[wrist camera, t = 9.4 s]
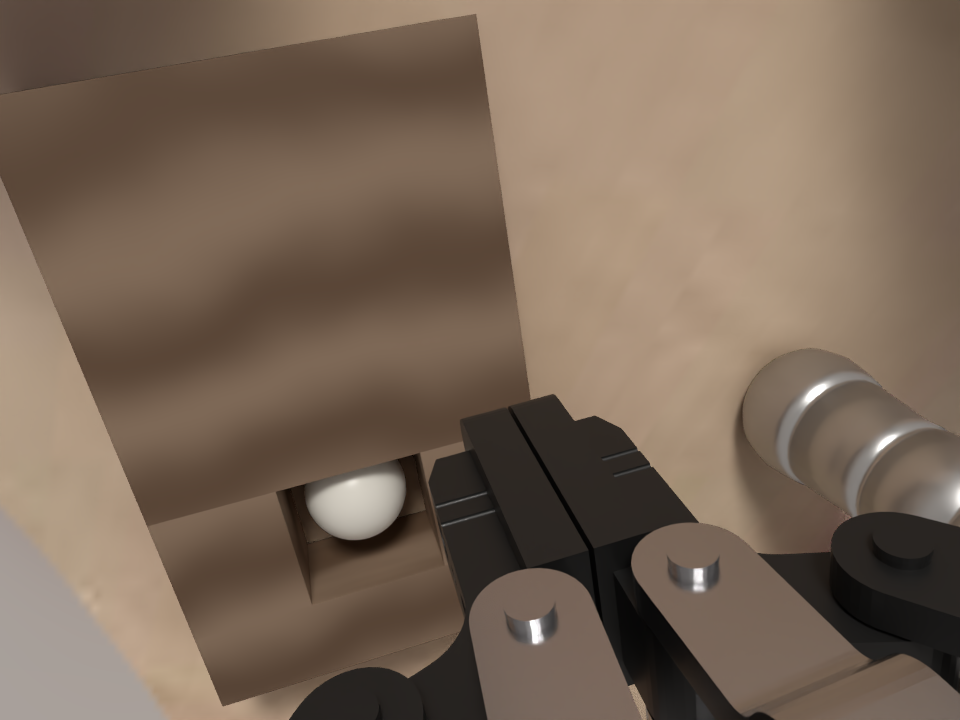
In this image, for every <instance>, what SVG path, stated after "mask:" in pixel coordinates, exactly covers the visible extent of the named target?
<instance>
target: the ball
mask: <svg viewBox="0 0 960 720" xmlns="http://www.w3.org/2000/svg"><path fill="white" fill-rule="evenodd" d="M304 491H305V501H306V505H307V508H308V511H309V513H310V515H311V516H312V518H313V519H314V521H315V522H316V523H317V524H318V525H319V526H320V527H321V528H322V529H323V530H324V531H326V532H327V533H329V534H331V535H333V536H335V537H338V538H341V539H346V540H363V539H367V538H370V537H373V536H375V535H377V534H379V533H381V532H383V531H384V530H385V529H387V528H388V527H389V526H390V525H391V524H392V523H393V522H394V521H395V519H396V518H397V516H398V515H399V513H400V511H401V509H402V507H403V504H404V501H405V496H406V480H405V475H404V472H403V469H402V467H401V465H400V463H399V461H398V460H397V459H395V460H391V461H388V462H384V463H380V464H377V465H373V466H369V467H365V468H362V469H358V470H354V471H351V472H347V473H343V474H340V475H336V476H332V477H328V478H325V479H321V480H317V481H314V482H310V483H306V484H305V489H304Z"/></svg>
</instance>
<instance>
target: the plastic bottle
mask: <svg viewBox="0 0 960 720" xmlns="http://www.w3.org/2000/svg"><path fill="white" fill-rule="evenodd" d="M743 428H744V432H745V436H746V437H747V439H748V441H749V443H750V444H751V446H752V447H753V448H754V450H755V451H756V452H757V454H758V455H759V456H760V458H761V459H762V460H763V461H764V462H765V463H766V464H767V465H769V466H771V467H772V468H774V469H776V470H777V471H779V472H780V473H782V474H784V475H785V476H787V477H789V478H790V479H792V480H794V481H796V482H799V483H801V484H803V485H806V486H808V487H809V488H811V489H812V490H813V491H815V492H816V493H818V494H819V495H821V496H822V497H824V498H825V499H827V500H828V501H830V502H831V503H833V504H834V505H836V506H837V507H839V508H840V509H841V510H843V511H844V512H846V513H847V514H849V515H850V516H851V517H852V518H853V517H856V516H858V515H862V514H867V513H873V512H898V513H906V514H911V515H915V516H919V517H923V518H927V519H931V520H935V521H939V522H943V523H947V524H951V525H955V526H958V527H960V436H958V435H956V434H954V433H951V432H949V431H947V430H945V429H944V428H942V427H940V426H938V425H936V424H934V423H932V422H930V421H928V420H926V419H925V418H923V417H922V416H921V415H919V414H918V413H916V412H915V411H914V410H912V409H911V408H909V407H908V406H907V405H905V404H904V403H902V402H901V401H900V400H898V399H897V398H895V397H894V396H893V395H891V394H890V393H888V392H887V391H886V390H884V389H883V388H882V386H881V385H880V384H879V383H878V382H877V381H876V380H875V379H874V378H873V377H872V376H871V375H869V374H868V373H867V372H866V371H864V370H863V369H862V368H861V367H859V366H858V365H857V364H855V363H854V362H853V361H851V360H850V359H849V358H846V357H844V356H841V355H838V354H835V353H831V352H828V351H825V350H821V349H814V348H808V349H800V350H797V351H793V352H790V353H787V354H784V355H782V356H780V357H778V358H776V359H774V360H773V361H771V362H770V363H768V364H767V365H766V366H765V367H764V368H763V369H762V370H761V371H760V372H759V373H758V374H757V375H756V377H755V378H754V379H753V381H752V382H751V384H750V386H749V388H748V390H747V393H746V395H745V398H744V403H743Z"/></svg>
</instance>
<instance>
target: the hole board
mask: <svg viewBox="0 0 960 720" xmlns="http://www.w3.org/2000/svg"><path fill="white" fill-rule="evenodd" d="M0 176H1V178H2V181H3V183H4V186H5V188H6V190H7V193H8V195H9V198H10V200H11V202H12V205H13V207H14V209H15V212H16V214H17V217H18V219H19V221H20V224H21V226H22V229H23V231H24V233H25V236H26V238H27V240H28V243H29V245H30V248H31V250H32V252H33V255H34V257H35V260H36V262H37V264H38V267H39V269H40V272H41V274H42V276H43V279H44V281H45V283H46V286H47V288H48V291H49V293H50V295H51V298H52V300H53V303H54V305H55V307H56V310H57V312H58V314H59V317H60V319H61V322H62V324H63V326H64V329H65V331H66V334H67V336H68V338H69V341H70V343H71V346H72V348H73V350H74V353H75V355H76V357H77V360H78V362H79V365H80V367H81V369H82V372H83V374H84V377H85V379H86V381H87V384H88V386H89V388H90V391H91V393H92V396H93V398H94V400H95V403H96V405H97V408H98V410H99V412H100V415H101V417H102V420H103V422H104V424H105V427H106V429H107V431H108V434H109V436H110V439H111V441H112V443H113V446H114V448H115V451H116V453H117V455H118V458H119V460H120V463H121V465H122V467H123V470H124V472H125V474H126V477H127V479H128V482H129V484H130V486H131V489H132V491H133V494H134V496H135V498H136V501H137V503H138V505H139V508H140V510H141V513H142V515H143V517H144V520H145V522H146V525H147V527H148V529H149V532H150V534H151V537H152V539H153V541H154V544H155V546H156V548H157V551H158V553H159V556H160V558H161V560H162V563H163V565H164V568H165V570H166V572H167V575H168V577H169V579H170V582H171V584H172V587H173V589H174V591H175V594H176V596H177V599H178V601H179V603H180V606H181V608H182V611H183V613H184V615H185V618H186V620H187V622H188V625H189V627H190V630H191V632H192V634H193V637H194V639H195V642H196V644H197V646H198V649H199V651H200V653H201V656H202V658H203V661H204V663H205V665H206V668H207V670H208V673H209V675H210V677H211V680H212V682H213V685H214V687H215V689H216V692H217V694H218V696H219V699H220V701H221V704H222V706H226V705H229V704H232V703H235V702H239V701H242V700H245V699H248V698H251V697H255V696H258V695H261V694H264V693H267V692H270V691H274V690H277V689H280V688H283V687H286V686H289V685H293V684H296V683H299V682H302V681H305V680H309V679H312V678H315V677H318V676H321V675H324V674H328V673H331V672H334V671H337V670H340V669H343V668H347V667H350V666H353V665H356V664H359V663H363V662H366V661H369V660H372V659H375V658H378V657H382V656H385V655H388V654H391V653H394V652H397V651H401V650H404V649H407V648H410V647H413V646H417V645H420V644H423V643H426V642H429V641H432V640H436V639H439V638H442V637H445V636H448V635H451V634H455V633H458V632H460V631H461V628H462V626H463V624H464V616H463V613H462V609H461V606H460V603H459V599H458V596H457V592H456V589H455V585H454V582H453V579H452V576H451V572H450V569H449V566H448V562H447V559H446V554H445V550H444V546H443V542H442V538H441V534H440V530H439V525H438V521H437V517H436V513H435V509H434V505H433V500H432V496H431V492H430V488H429V484H428V481H429V478H430V475H431V472H432V469H433V466H434V463H435V460H436V459H439V458H443V457H447V456H450V455H454V454H458V453H461V452H465V448H464V443H463V438H462V433H461V427H460V419H463V418H467V417H470V416H474V415H478V414H481V413H485V412H489V411H493V410H496V409H500V408H504V407H506V408H507V409H508V406H511V405H514V404H518V403H522V402H526V401H529V400H530V392H529V385H528V378H527V371H526V364H525V357H524V350H523V343H522V336H521V329H520V322H519V315H518V308H517V300H516V293H515V286H514V279H513V272H512V265H511V258H510V251H509V244H508V237H507V230H506V223H505V215H504V208H503V201H502V194H501V187H500V180H499V173H498V166H497V159H496V152H495V145H494V138H493V131H492V123H491V116H490V109H489V102H488V95H487V88H486V81H485V74H484V67H483V60H482V53H481V46H480V38H479V31H478V24H477V17H476V14H473V15H467V16H461V17H455V18H449V19H443V20H437V21H431V22H425V23H419V24H413V25H407V26H401V27H395V28H390V29H384V30H378V31H372V32H366V33H360V34H354V35H348V36H342V37H336V38H331V39H325V40H319V41H313V42H307V43H301V44H295V45H289V46H283V47H277V48H272V49H266V50H260V51H254V52H248V53H242V54H236V55H230V56H224V57H218V58H213V59H207V60H201V61H195V62H189V63H183V64H177V65H171V66H165V67H159V68H154V69H148V70H142V71H136V72H130V73H124V74H118V75H112V76H106V77H100V78H94V79H89V80H83V81H77V82H71V83H65V84H59V85H53V86H47V87H41V88H35V89H30V90H24V91H18V92H12V93H6V94H0ZM410 455H414V459H415V463H416V468H417V472H418V477H419V481H420V486H421V490H422V495H423V499H424V504H425V508H426V510H425V511H422V512H418V513H415V514H411V515H408V516H404V517H401V518H397V519H395V521H394V522H393V523H392V524H391V525H390V526H389V527H388V528H387V529H385V530H384V531H383V532H381V533H379V534H377V535H375V536H373V537H370V538H367V539H363V540H346V539H341V538H338V537H335V536H334V537H330V538H327V539H323V540H320V541H316V542H313V543H309V544H307V542H306V538H305V535H304V532H303V529H302V526H301V522H300V519H299V516H298V513H297V510H296V506H295V503H294V500H293V497H292V493H291V490H290V488H291V487H295V486H299V485H303V484H306V483H310V482H314V481H317V480H321V479H325V478H328V477H332V476H336V475H340V474H343V473H347V472H351V471H354V470H358V469H362V468H365V467H369V466H373V465H377V464H380V463H384V462H388V461H391V460H395V459H399V458H403V457H406V456H410Z"/></svg>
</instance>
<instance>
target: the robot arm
mask: <svg viewBox="0 0 960 720" xmlns="http://www.w3.org/2000/svg"><path fill="white" fill-rule="evenodd" d="M460 427H461V433H462V438H463V443H464V448H465V452H461V453H458V454H454V455H450V456H447V457H443V458H439V459H436V460H435V463H434V466H433V469H432V472H431V475H430V478H429V481H428V484H429V488H430V492H431V496H432V500H433V505H434V509H435V513H436V517H437V521H438V525H439V530H440V534H441V538H442V542H443V546H444V550H445V554H446V559H447V562H448V566H449V569H450V572H451V576H452V579H453V582H454V585H455V589H456V592H457V596H458V599H459V603H460V606H461V609H462V613H463V616H464V624H463V626H462V628H461V631H460V633H459V635H458V636H457V638H456V640H455V641H454V643H453V644H452V645H451V646H450V648H449V649H448V650H447V651H446V652H445V653H444V654H443V655H442V656H441V657H439V658H438V659H437V660H436V661H434V662H433V663H431V664H430V665H429V666H427V667H426V668H424V669H422V670H421V671H419V672H418V673H416V674H415V675H413V676H411V677H410V678H406V677H405V676H403V675H402V674H400V673H398V672H395V671H393V670H390V669H385V668H379V667H367V668H359V669H355V670H351V671H347V672H344V673H342V674H340V675H337V676H335V677H333V678H331V679H330V680H328V681H326V682H324V683H323V684H322V685H320V686H319V687H317V688H316V689H315V690H314V691H313V692H312V693H310V694H309V695H308V696H307V697H306V698H305V699H304V701H303V702H302V703H301V704H300V705H299V707H298V708H297V709H296V711H295V712H294V713H293V715H292V716H291V718H290V719H289V720H642V718H641V716H640V714H639V711H638V709H637V706H636V704H635V702H634V699H633V697H632V694H631V692H630V689H629V687H628V686H629V685H633V684H635V686H636V688H637V690H638V691H639V693H640V695H641V697H642V699H643V701H644V703H645V706H646V716H647V720H960V527H958V526H955V525H951V524H947V523H943V522H939V521H935V520H931V519H927V518H923V517H919V516H915V515H911V514H906V513H898V512H873V513H867V514H862V515H858V516H856V517H853V518H851V519H849V520H847V521H845V522H844V523H842V524H841V525H840V526H839V527H838V528H837V530H836V531H835V532H834V534H833V537H832V544H831V552H823V553H802V554H761V553H756V552H755V551H754V550H753V549H752V548H751V547H750V546H749V545H748V544H747V543H746V542H745V541H744V540H742V539H741V538H740V537H739V536H737V535H735V534H734V533H732V532H730V531H728V530H725V529H723V528H720V527H717V526H713V525H709V524H703V523H699V522H698V521H697V520H696V518H695V517H694V516H693V515H692V513H691V512H690V511H689V510H688V509H687V507H686V506H685V505H684V504H683V503H682V501H681V500H680V499H679V498H678V497H677V495H676V494H675V493H674V492H673V491H672V489H671V488H670V487H669V486H668V484H667V483H666V482H665V481H664V480H663V478H662V477H661V476H660V475H659V474H658V472H657V471H656V470H655V469H654V468H653V467H651V466H650V463H649V461H648V460H647V459H646V458H645V457H644V455H643V454H642V453H641V452H640V451H638V450H637V447H636V446H635V445H634V443H633V442H632V441H631V440H630V438H629V437H628V436H627V435H626V434H625V432H624V431H623V430H622V429H621V428H619V427H617V426H615V425H613V424H611V423H609V422H607V421H605V420H603V419H601V418H599V417H597V416H592V417H588V418H585V419H581V420H577V421H574V420H573V419H572V417H571V416H570V414H569V413H568V412H567V410H566V409H565V408H564V406H563V405H562V403H561V402H560V401H559V399H558V398H557V397H556V396H555V395H554V394H552V395H548V396H544V397H541V398H537V399H533V400H529V401H526V402H522V403H518V404H514V405H511V406H508V409H507V408H506V407H504V408H500V409H496V410H493V411H489V412H485V413H481V414H478V415H474V416H470V417H467V418H463V419H460Z"/></svg>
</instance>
